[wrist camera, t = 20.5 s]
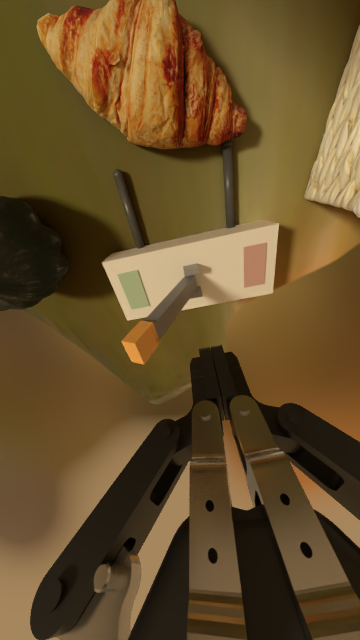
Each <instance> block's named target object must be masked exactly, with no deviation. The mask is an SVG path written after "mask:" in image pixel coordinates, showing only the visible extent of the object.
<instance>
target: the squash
mask: <svg viewBox="0 0 360 640" xmlns="http://www.w3.org/2000/svg"><path fill="white" fill-rule="evenodd" d="M61 247H62V239H61V237H60V236H59V235H58V234H57V233H56V232H55V231H53V230H52V229H50V228H49V227H46V226H44V225H42V224H41V221H40V218H39V216H38V214H37V213H36V211H35V210H34V209H33V208H32V207H31V206H30V205H29V204H28V203H26V202H25V201H22V200H20V199H17V198H9V197H4V196H0V311H3V310H8V309H25V308H28V307H32V306H34V305H36V304H37V303H39V302H40V301H41V300H42V299H43V298H45V297H47V296H49V295H51V294H53V293H54V292H55V291H56V290H57V289H58V286H59V280H60V279H61V278H62V277H63V276H64V275H65V274H66V272H67V270H68V268H69V262H68V260H67V259H66V257H65V256H64V255H63V254H62V253H61Z"/></svg>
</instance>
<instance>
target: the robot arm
mask: <svg viewBox="0 0 360 640" xmlns="http://www.w3.org/2000/svg"><path fill="white" fill-rule="evenodd" d="M199 353H200V357H197V358H192V361H191V363H190V372H191V383H192V394H193V406H192V409H191V411H190V412H189V413H188V414H187V415H186V416H185V417H182V418H180V419H178V420H177V421H174V420H171V419H164V420H161V421H160V422H159V423H157V424H156V426H155V427H154V428H153V430H152V431H151V433H150V434H149V435H148V436H147V438H146V439H145V441H144V442H143V443H142V445H141V446H140V447H139V449H138V450H137V451H136V453H135V454H134V456H133V457H132V458H131V460H130V461H129V462H128V464H127V465H126V467H125V468H124V469H123V471H122V472H121V473H120V475H119V476H118V477H117V479H116V480H115V481H114V483H113V484H112V485H111V487H110V488H109V490H108V491H107V492H106V494H105V495H104V496H103V498H102V499H101V500H100V502H99V503H98V504H97V506H96V507H95V509H94V510H93V511H92V513H91V514H90V515H89V517H88V518H87V520H86V521H85V522H84V523H83V525H82V526H81V528H80V529H79V530H78V532H77V533H76V534H75V536H74V537H73V538H72V540H71V541H70V543H69V544H68V545H67V547H66V548H65V549H64V551H63V552H62V554H61V555H60V556H59V558H58V559H57V560H56V562H55V563H54V564H53V566H52V567H51V568H50V570H49V571H48V573H47V574H46V575H45V577H44V578H43V580H42V582H41V584H40V586H39V588H38V590H37V593H36V595H35V598H34V601H33V604H32V609H31V617H30V625H31V630H32V633H33V635H34V637H35V638H36V639H39V640H46V639H49V638H53V637H57V638H59V639H60V640H360V548H359V547H358V546H357V545H356V544H355V543H353V541H352V540H351V539H350V538H348V537H347V536H346V535H345V534H344V533H343V532H342V531H341V530H340V529H339V528H338V527H337V526H336V525H335V524H334V523H333V522H331V521H330V520H329V519H328V518H326V517H325V516H324V515H322V514H321V513H319V512H318V511H316V510H314V509H313V508H312V506H311V504H310V502H309V500H308V498H307V496H306V494H305V492H304V490H303V488H302V486H301V484H300V482H299V480H298V478H297V476H296V474H295V472H294V470H293V468H292V466H291V464H290V462H291V463H292V464H293V465H295V466H296V467H297V468H298V469H299V470H301V471H302V472H303V473H304V474H306V475H307V476H308V477H309V478H310V479H312V480H313V481H314V482H315V483H316V484H317V485H319V486H320V487H321V488H322V489H323V490H325V491H326V492H327V493H328V494H329V495H331V496H332V497H333V498H334V499H335V500H336V501H338V502H339V503H340V504H341V505H342V506H343V507H345V508H346V509H347V510H348V511H349V512H351V513H352V514H353V515H354V516H355V517H357V518H358V519H359V520H360V442H359V441H357V440H355V439H354V438H352V437H351V436H349V435H347V434H346V433H344V432H342V431H341V430H339V429H338V428H336V427H334V426H333V425H331V424H329V423H328V422H326V421H324V420H323V419H321V418H320V417H318V416H316V415H314V414H313V413H311V412H310V411H308V410H307V409H305V408H303V407H301V406H300V405H297V404H294V403H287V404H283V405H282V406H281V407H280V408H279V407H273V406H267V405H264V404H262V403H259V402H258V401H257V400H255V399H254V398H253V396H252V395H251V393H250V390H249V388H248V385H247V382H246V380H245V377H244V375H243V372H242V370H241V367H240V364H239V362H238V359H237V357H236V356H235V355H234V354H233V353H232V352H227V353H224V351H223V348H222V345H219V346H213V347H211V351H210V347H207V348H201V349H199ZM211 354H212V355H211ZM223 411H224V414H223ZM224 416H225V420H230V424H231V428H232V435H233V438H234V442H235V445H236V448H237V451H238V454H239V458H240V461H241V464H242V467H243V470H244V474H245V477H246V481H247V486H248V489H249V493H250V496H251V500H252V503H253V506H254V508H252V509H251V510H242V509H238V508H234V507H232V501H231V494H230V486H229V480H228V472H227V464H226V457H225V449H224V441H223V435H224V433H223V426H222V421H223V420H224ZM190 460H191V462H190V516H189V517H188V518H187V519H186V520H185V521H184V522H183V523H182V524H181V526H180V527H179V528H178V530H177V532H176V533H175V535H174V537H173V539H172V542H171V544H170V546H169V548H168V550H167V553H166V555H165V557H164V559H163V562H162V564H161V566H160V568H159V571H158V573H157V575H156V577H155V580H154V582H153V584H152V586H151V588H150V591H149V593H148V595H147V597H146V600H145V602H144V604H143V606H142V609H141V611H140V613H139V615H138V618H137V620H136V622H135V624H134V627H133V629H132V631H131V632H130V619H131V611H132V606H133V603H134V600H135V597H136V595H137V592H138V589H139V585H140V580H141V564H140V560H139V557H138V555H137V554H138V553H139V551H140V549H141V547H142V545H143V543H144V542H145V540H146V538H147V536H148V534H149V533H150V531H151V529H152V527H153V525H154V523H155V522H156V520H157V518H158V516H159V514H160V513H161V511H162V509H163V507H164V505H165V503H166V501H167V500H168V498H169V496H170V494H171V492H172V491H173V489H174V487H175V485H176V483H177V482H178V480H179V478H180V476H181V474H182V472H183V470H184V469H185V467H186V465H187V463H188V461H190ZM289 461H290V462H289Z"/></svg>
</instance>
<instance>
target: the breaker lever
mask: <svg viewBox="0 0 360 640" xmlns="http://www.w3.org/2000/svg"><path fill="white" fill-rule="evenodd" d="M196 289H197V282H196V276H195V275H191V276H186V277H185V276H184V278H183V279H182V280H181V281H180V282H179V283H178V284H177V285H176V286H175V287H174V288H173V289H172V291H171V292H170V293H169V294H168V295H167V296H166V297H165V298H164V299H163V300H162V301H161V302H160V304H159V305H158V306H157V307H156V308H155V309H154V310H153V311H152V312H151V313H150V314H149V315H148V317H147V318H146V319H145V320H144V321H140V322H139V323H138V324H137V325H136V326H135V327H134V328H133V329H132V330H131V331H130V332H129V333H128V334H127V336H126V337H125V338H124V339H123V340H122V341H121V342H122V344H123V345H124V347H125V349H126V351H127V353H128V355H129V357H130V359H131V361H132V362H136V363H140V364H145V363H146V362H147V360H148V359H149V357H150V356H151V355H152V353H153V352H154V350H155V349H156V348H157V346H158V345H159V343H160V339H161V337H162V336H163V335H164V333H165V332H166V331H167V329H168V328H169V326H170V325H171V324H172V322H173V321H174V320H175V318H176V317H177V315H178V314H179V313H180V311H181V310H182V309H183V307H184V306H185V304H186V303H187V302H188V300H189V299H190V298H191V296H192V295H193V293H194V292H195V291H196Z"/></svg>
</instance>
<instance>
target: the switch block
mask: <svg viewBox="0 0 360 640" xmlns="http://www.w3.org/2000/svg"><path fill="white" fill-rule="evenodd" d="M222 153H223V171H224V189H225V207H226V225H227V227H226V228H222V229H217V230H213V231H209V232H204V233H200V234H195V235H191V236H186V237H182V238H177V239H173V240H169V241H164V242H160V243H155V244H151V245H146V246H144V243H143V239H142V236H141V233H140V229H139V226H138V222H137V219H136V216H135V212H134V209H133V206H132V202H131V199H130V196H129V192H128V189H127V186H126V182H125V179H124V175H123V173H122V171H121V170H119V169H117V170H115V171H114V178H115V181H116V184H117V187H118V190H119V193H120V196H121V200H122V203H123V206H124V209H125V212H126V215H127V218H128V221H129V224H130V228H131V231H132V234H133V237H134V240H135V243H136V246H137V248H133V249H129V250H124V251H120V252H115V253H112V254H111V255H109V256H108V257H107V258H106V259H105V260H104V261H103V262H102V264H103V267H104V269H105V271H106V273H107V276H108V278H109V280H110V282H111V285H112V287H113V289H114V291H115V294H116V296H117V298H118V300H119V303H120V305H121V307H122V309H123V312H124V314H125V316H126V318H127V321H128V320H133V319H138V318H144V317H148V315H149V314H150V313H151V312H152V311H153V310H154V309H155V308H156V307H157V306H158V305H159V304H160V302H161V301H162V300H163V299H164V298H165V297H166V296H167V295H168V294H169V293H170V292H171V291H172V289H173V288H174V287H175V286H176V285H177V284H178V283H179V282H180V281H181V280H182V279H183V278H184V276H185V277H186V276H191V275H195V276H196V282H197V289H196V291H195V292H194V293H193V295H192V296H191V298H190V299H189V300H188V302H187V303H186V304H185V306H184V307H183V309H182V310H186V309H192V308H197V307H202V306H208V305H213V304H218V303H223V302H229V301H234V300H239V299H245V298H250V297H255V296H261V295H266V294H271V293H273V286H274V274H275V263H276V252H277V240H278V229H279V223H275V222H272V221H268V220H265V219H262V220H257V221H253V222H249V223H244V224H240V225H235V211H234V181H233V150H232V142H231V141H230V140H227V141H225V142H224V143H223V145H222Z"/></svg>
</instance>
